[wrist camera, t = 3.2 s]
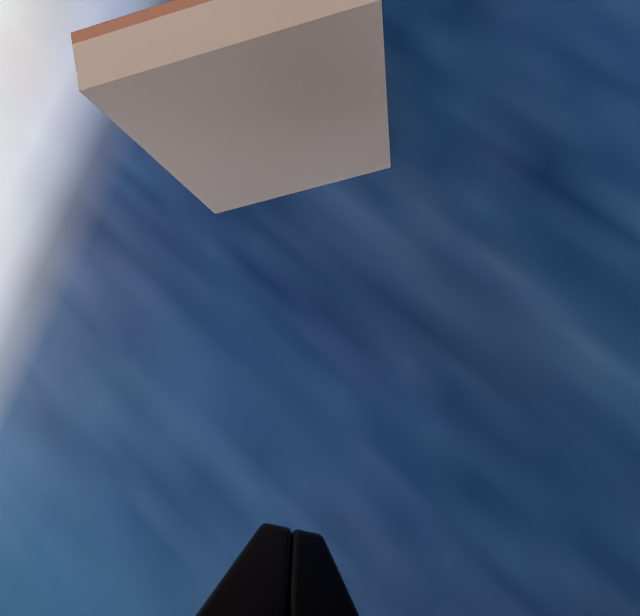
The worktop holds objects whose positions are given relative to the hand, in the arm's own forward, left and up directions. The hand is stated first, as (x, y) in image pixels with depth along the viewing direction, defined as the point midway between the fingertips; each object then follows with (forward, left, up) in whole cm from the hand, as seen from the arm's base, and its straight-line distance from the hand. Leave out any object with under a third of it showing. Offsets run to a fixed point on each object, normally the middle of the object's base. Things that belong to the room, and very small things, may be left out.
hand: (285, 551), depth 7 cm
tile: (+7, -8, -12) cm, 16 cm away
